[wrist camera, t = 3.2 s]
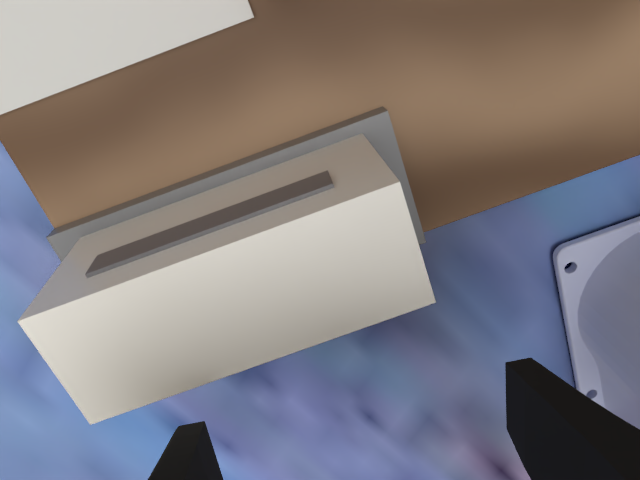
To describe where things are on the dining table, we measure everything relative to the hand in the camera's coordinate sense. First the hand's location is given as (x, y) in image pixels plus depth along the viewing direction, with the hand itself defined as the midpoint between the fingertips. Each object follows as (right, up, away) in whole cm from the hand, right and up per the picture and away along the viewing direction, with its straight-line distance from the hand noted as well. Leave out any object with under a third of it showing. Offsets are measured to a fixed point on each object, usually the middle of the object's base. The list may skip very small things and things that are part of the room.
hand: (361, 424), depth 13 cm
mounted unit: (-4, +5, +8) cm, 10 cm away
